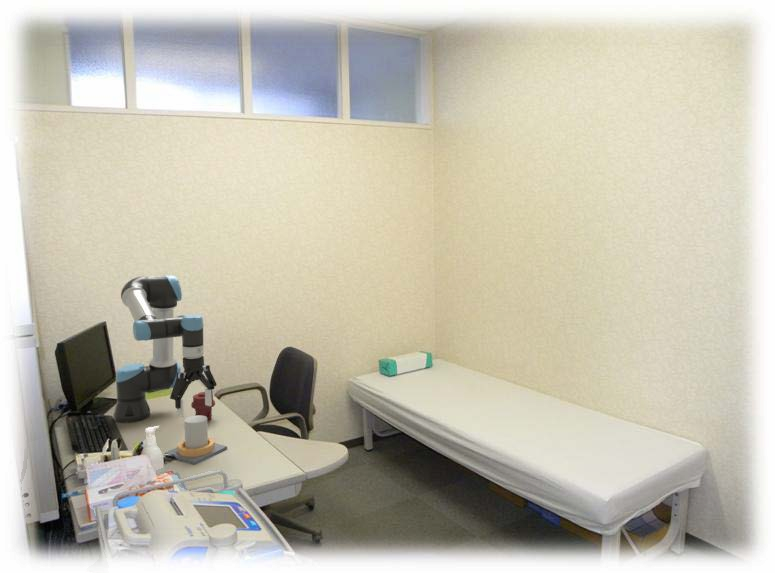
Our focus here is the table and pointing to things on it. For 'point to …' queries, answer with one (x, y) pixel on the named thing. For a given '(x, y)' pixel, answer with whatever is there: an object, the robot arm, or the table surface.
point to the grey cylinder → (196, 432)
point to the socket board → (200, 458)
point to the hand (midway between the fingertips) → (194, 410)
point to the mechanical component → (202, 405)
